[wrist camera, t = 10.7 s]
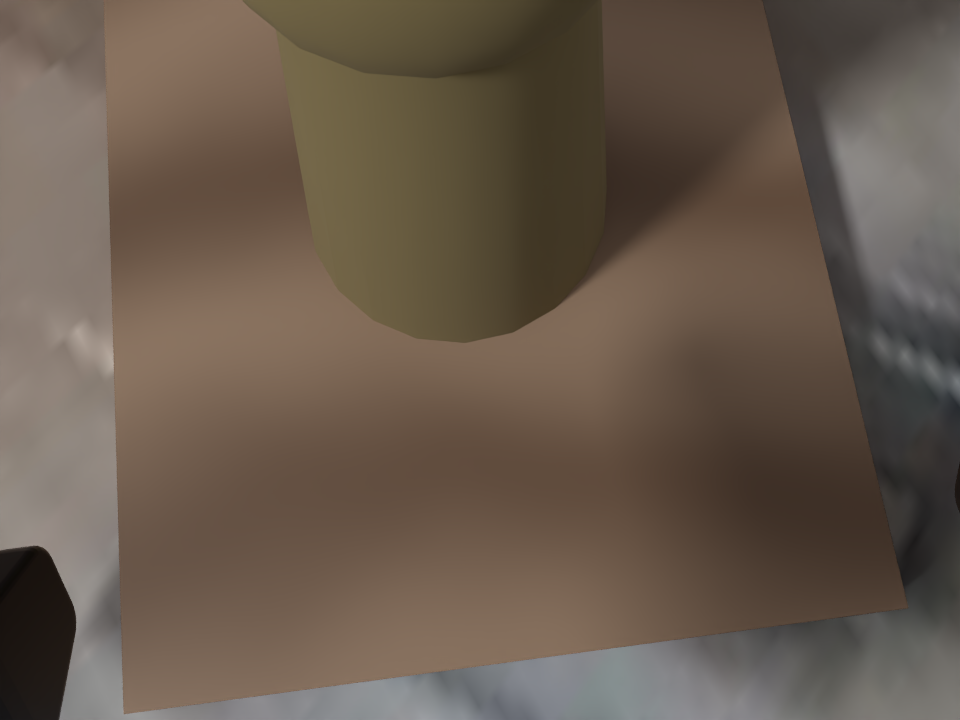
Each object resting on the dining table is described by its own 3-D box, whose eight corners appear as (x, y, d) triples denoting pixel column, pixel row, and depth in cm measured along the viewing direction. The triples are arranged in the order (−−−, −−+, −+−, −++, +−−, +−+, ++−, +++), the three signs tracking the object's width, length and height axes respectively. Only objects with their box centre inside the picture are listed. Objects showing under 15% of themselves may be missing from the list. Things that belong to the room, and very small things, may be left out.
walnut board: (881, 607, 17) (908, 607, 16) (148, 705, 17) (124, 713, 16) (701, -163, 22) (713, -205, 21) (121, -91, 22) (100, -130, 20)
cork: (635, 100, 19) (820, -553, 8) (569, 376, 17) (685, 25, 7) (356, 39, 19) (179, -654, 9) (268, 301, 18) (-76, -137, 7)
